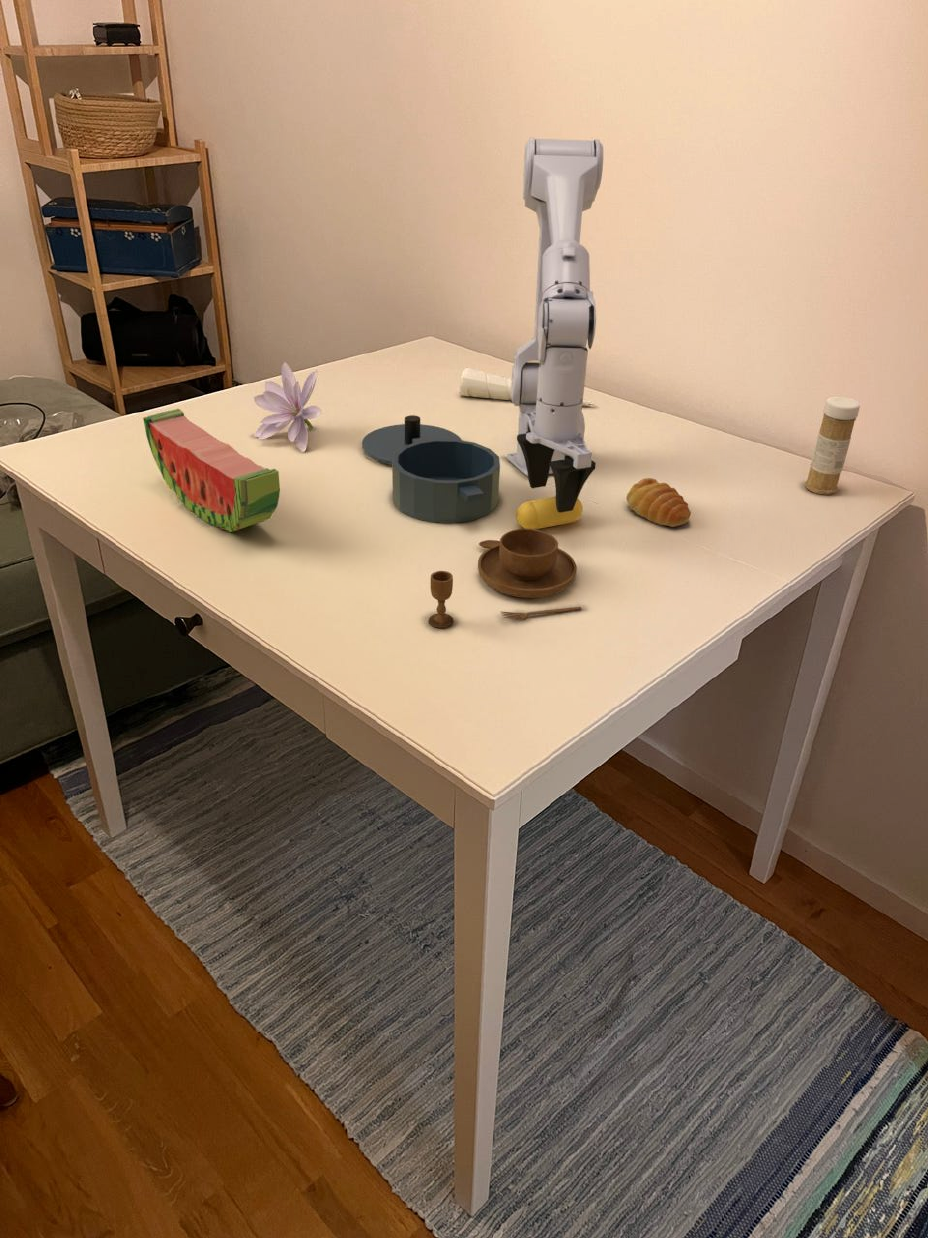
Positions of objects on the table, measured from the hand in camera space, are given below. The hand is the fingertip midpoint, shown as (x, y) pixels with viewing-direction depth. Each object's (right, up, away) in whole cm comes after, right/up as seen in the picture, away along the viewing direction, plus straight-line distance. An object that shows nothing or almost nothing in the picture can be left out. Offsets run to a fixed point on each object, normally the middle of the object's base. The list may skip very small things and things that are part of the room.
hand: (551, 498), depth 122 cm
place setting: (-8, -12, -10) cm, 17 cm away
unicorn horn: (-1, +23, +42) cm, 48 cm away
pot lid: (-19, +11, +22) cm, 31 cm away
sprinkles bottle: (+41, +3, +14) cm, 43 cm away
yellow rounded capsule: (0, -3, +2) cm, 4 cm away
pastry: (+15, -1, +6) cm, 17 cm away
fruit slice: (-45, -2, +3) cm, 45 cm away
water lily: (-39, +13, +25) cm, 48 cm away
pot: (-14, +1, +8) cm, 16 cm away
